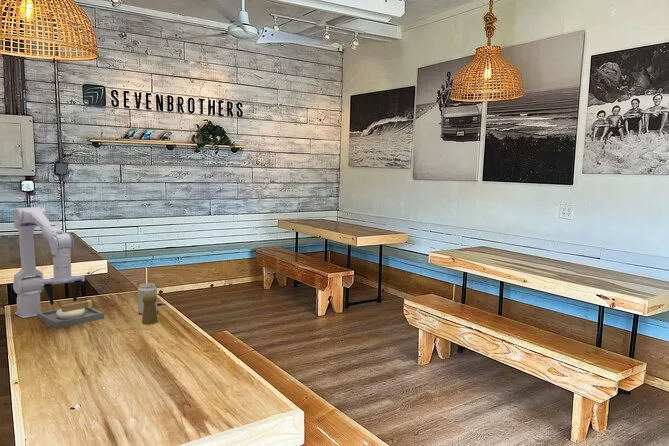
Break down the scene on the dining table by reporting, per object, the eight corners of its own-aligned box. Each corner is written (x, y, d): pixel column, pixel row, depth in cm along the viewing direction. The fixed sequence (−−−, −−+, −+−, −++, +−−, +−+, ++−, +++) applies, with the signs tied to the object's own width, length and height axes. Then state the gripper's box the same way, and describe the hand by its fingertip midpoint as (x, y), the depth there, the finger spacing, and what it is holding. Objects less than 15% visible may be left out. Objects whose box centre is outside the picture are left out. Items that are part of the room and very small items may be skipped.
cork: (160, 320, 200) (160, 293, 199) (153, 324, 194) (153, 297, 193) (146, 319, 201) (145, 292, 200) (138, 323, 195) (138, 296, 194)
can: (153, 315, 206) (152, 287, 205) (135, 314, 206) (134, 286, 205) (159, 310, 213) (159, 282, 212) (142, 309, 213) (141, 282, 212)
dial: (52, 315, 198) (51, 304, 198) (85, 308, 209) (85, 298, 208) (62, 320, 192) (62, 309, 192) (97, 313, 202) (96, 302, 202)
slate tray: (37, 318, 198) (37, 313, 198) (83, 309, 212) (83, 304, 212) (56, 328, 187) (56, 322, 186) (104, 318, 201) (104, 312, 200)
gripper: (41, 270, 176) (43, 308, 178) (86, 266, 186) (87, 301, 187) (38, 267, 182) (39, 303, 183) (81, 262, 191) (82, 297, 193)
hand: (63, 302), depth 186 cm, fingers open, 7 cm apart
